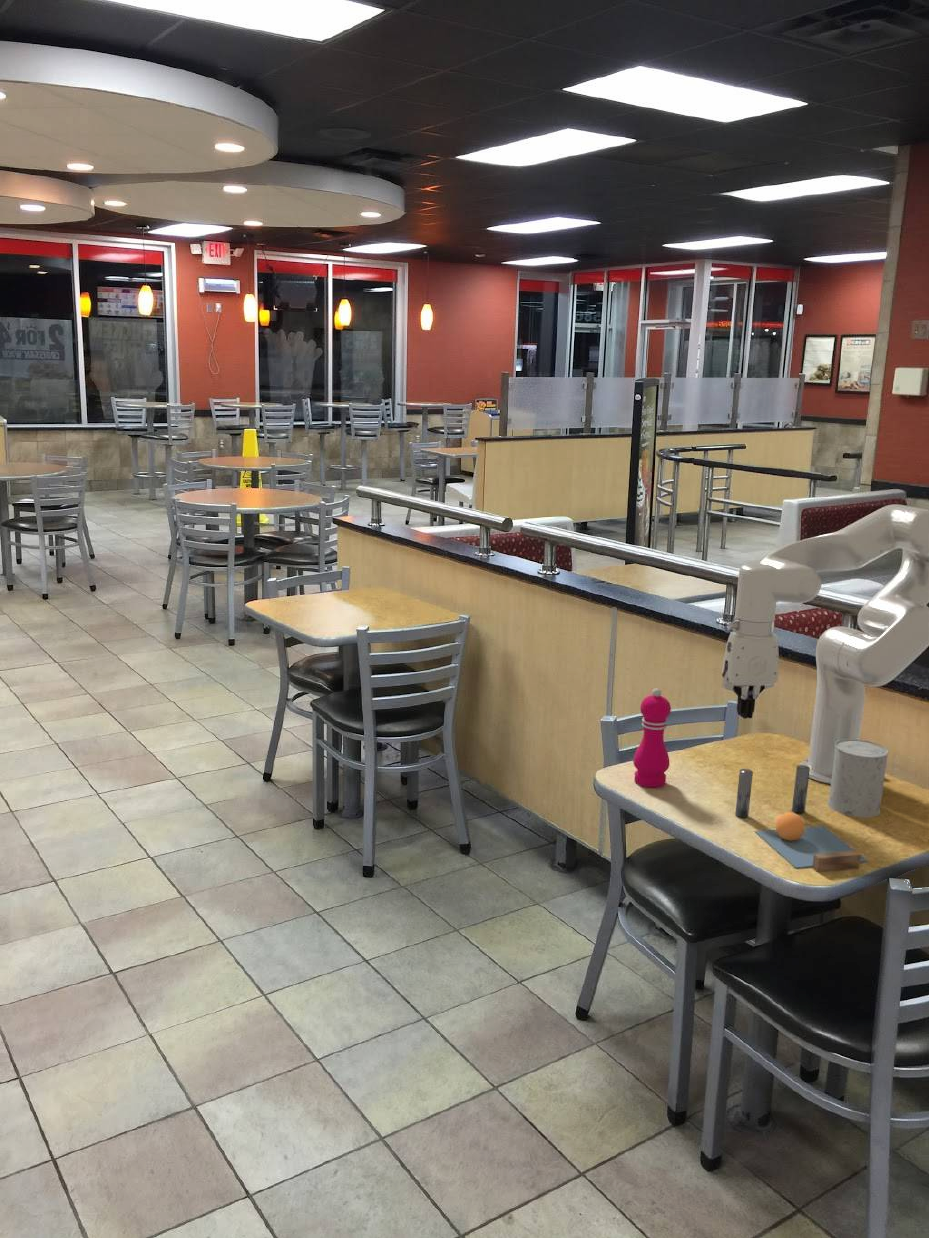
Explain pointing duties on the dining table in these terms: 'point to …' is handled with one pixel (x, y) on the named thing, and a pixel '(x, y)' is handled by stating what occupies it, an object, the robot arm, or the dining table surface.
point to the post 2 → (800, 789)
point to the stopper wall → (836, 861)
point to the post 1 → (744, 793)
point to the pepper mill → (652, 742)
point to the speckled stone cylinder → (858, 778)
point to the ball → (790, 826)
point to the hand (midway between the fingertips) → (744, 716)
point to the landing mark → (806, 845)
